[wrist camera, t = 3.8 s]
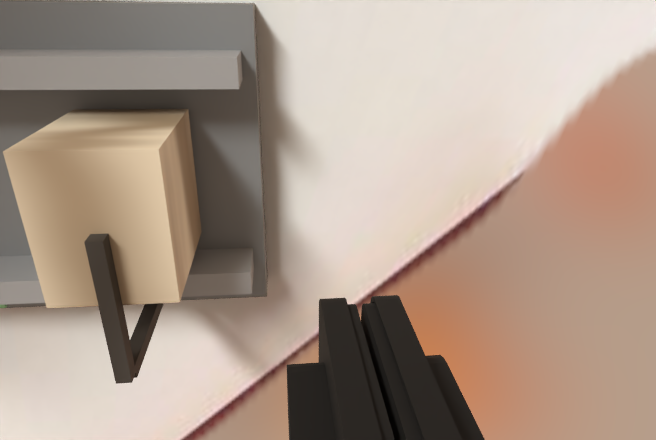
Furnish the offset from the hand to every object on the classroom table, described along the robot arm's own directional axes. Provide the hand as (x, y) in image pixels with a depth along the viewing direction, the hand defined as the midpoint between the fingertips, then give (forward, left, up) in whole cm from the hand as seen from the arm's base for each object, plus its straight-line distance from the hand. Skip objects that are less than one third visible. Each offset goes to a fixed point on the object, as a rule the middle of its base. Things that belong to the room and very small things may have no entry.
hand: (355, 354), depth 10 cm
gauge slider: (+7, +1, -10) cm, 12 cm away
